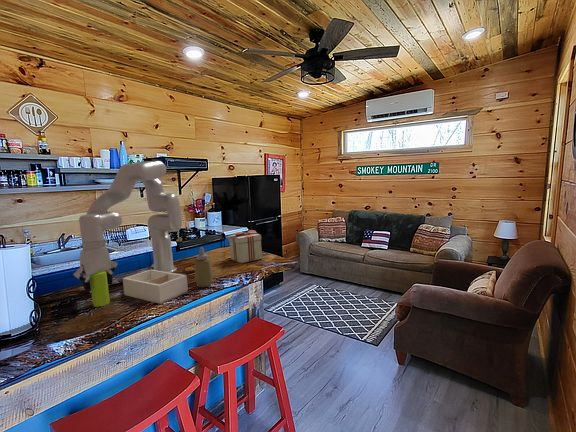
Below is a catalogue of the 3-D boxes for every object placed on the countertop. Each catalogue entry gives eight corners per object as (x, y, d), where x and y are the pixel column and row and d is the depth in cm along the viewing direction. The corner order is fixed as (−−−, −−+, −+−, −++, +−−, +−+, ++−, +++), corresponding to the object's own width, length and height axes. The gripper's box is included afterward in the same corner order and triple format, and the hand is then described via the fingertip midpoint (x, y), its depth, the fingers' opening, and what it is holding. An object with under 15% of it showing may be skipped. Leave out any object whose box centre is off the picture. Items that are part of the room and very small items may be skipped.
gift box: (248, 254, 198) (246, 227, 195) (264, 258, 183) (262, 230, 181) (224, 259, 187) (222, 231, 185) (239, 264, 173) (237, 235, 171)
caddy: (124, 295, 133) (122, 278, 132) (152, 284, 145) (151, 269, 144) (160, 303, 121) (158, 285, 120) (188, 291, 133) (186, 275, 132)
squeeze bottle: (195, 289, 136) (191, 250, 133) (195, 283, 143) (192, 246, 141) (214, 287, 138) (210, 248, 135) (213, 281, 145) (210, 244, 143)
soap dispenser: (105, 299, 129) (99, 253, 127) (112, 303, 125) (106, 255, 122) (90, 304, 124) (83, 256, 122) (96, 308, 120) (89, 258, 118)
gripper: (110, 240, 131) (114, 279, 133) (64, 249, 116) (70, 293, 118) (120, 241, 127) (125, 281, 129) (74, 250, 112) (80, 296, 114)
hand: (99, 287), depth 124 cm, fingers open, 7 cm apart
